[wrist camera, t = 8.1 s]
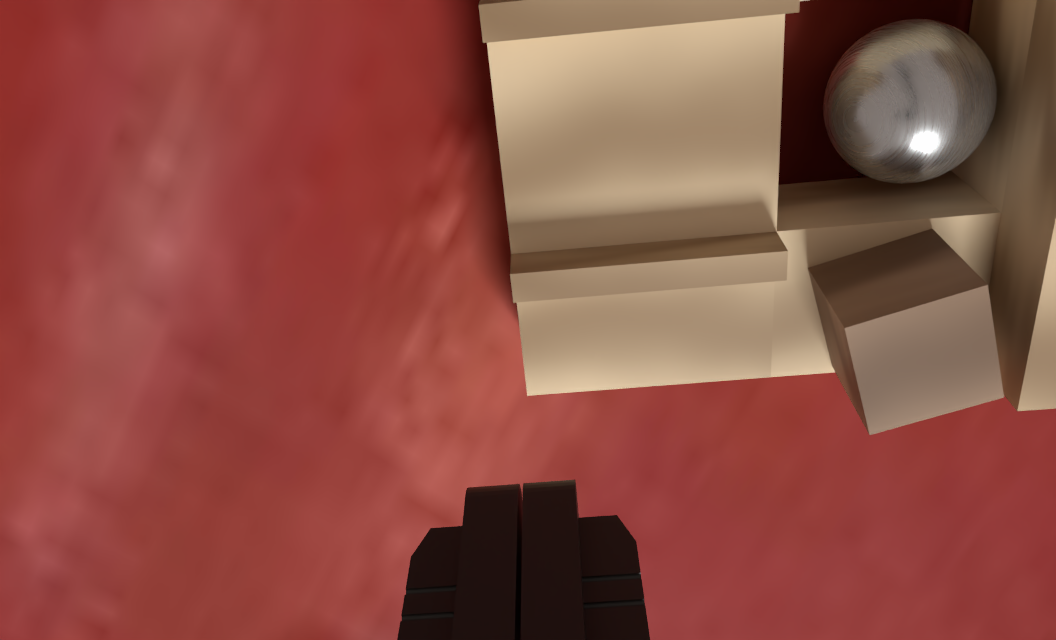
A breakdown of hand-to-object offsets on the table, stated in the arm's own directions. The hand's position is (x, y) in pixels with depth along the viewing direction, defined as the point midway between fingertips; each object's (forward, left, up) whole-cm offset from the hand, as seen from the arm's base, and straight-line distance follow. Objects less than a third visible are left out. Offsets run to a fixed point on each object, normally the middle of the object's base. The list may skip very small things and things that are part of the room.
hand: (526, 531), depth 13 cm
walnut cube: (+6, +11, -17) cm, 21 cm away
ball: (0, +12, -19) cm, 22 cm away
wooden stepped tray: (0, +8, -21) cm, 22 cm away
